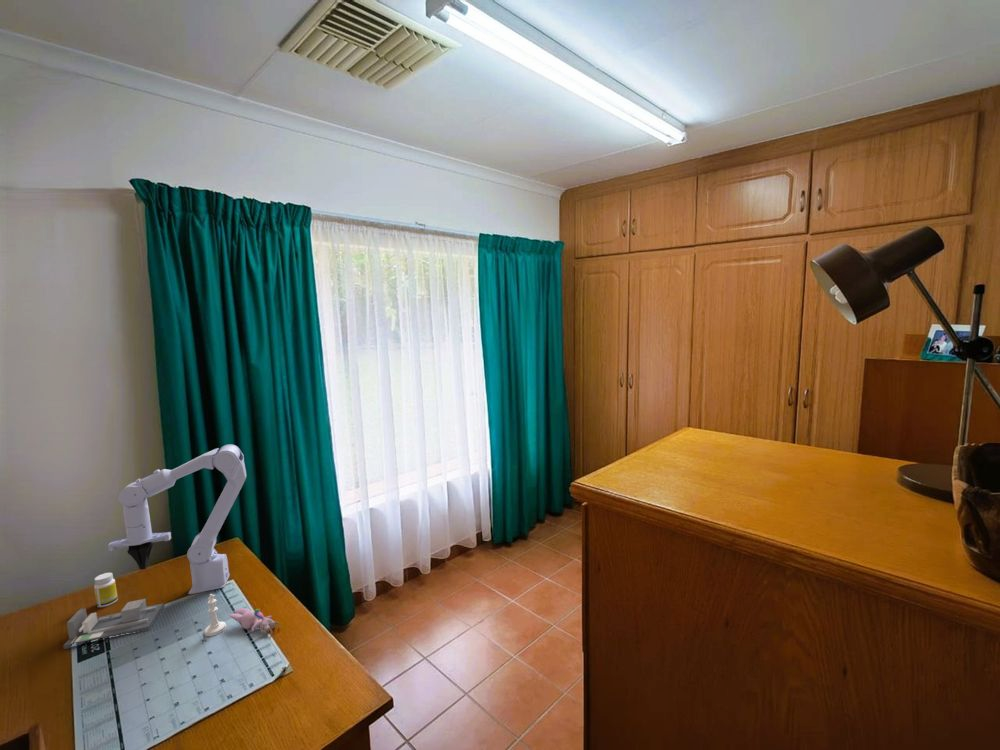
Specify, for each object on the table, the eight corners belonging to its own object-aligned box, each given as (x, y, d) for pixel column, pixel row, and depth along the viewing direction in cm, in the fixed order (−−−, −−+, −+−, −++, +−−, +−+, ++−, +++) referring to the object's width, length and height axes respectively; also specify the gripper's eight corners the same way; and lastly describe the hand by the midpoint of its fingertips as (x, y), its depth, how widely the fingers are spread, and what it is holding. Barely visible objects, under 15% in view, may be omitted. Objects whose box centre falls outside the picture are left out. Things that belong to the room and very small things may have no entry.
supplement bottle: (122, 598, 135) (118, 571, 134) (107, 608, 130) (103, 580, 130) (107, 598, 136) (103, 571, 135) (92, 607, 131) (88, 580, 130)
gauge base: (164, 606, 130) (161, 588, 129) (149, 629, 120) (146, 610, 119) (86, 623, 124) (83, 604, 123) (63, 649, 114) (60, 628, 113)
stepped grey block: (147, 611, 126) (145, 598, 125) (140, 620, 122) (138, 607, 121) (114, 618, 123) (112, 605, 123) (106, 628, 119) (104, 614, 119)
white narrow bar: (97, 621, 122) (96, 612, 122) (83, 638, 115) (82, 628, 115) (92, 623, 122) (90, 613, 121) (78, 639, 115) (76, 629, 115)
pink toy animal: (285, 629, 119) (241, 611, 124) (285, 608, 118) (242, 592, 123) (266, 645, 113) (221, 626, 118) (266, 624, 112) (221, 605, 117)
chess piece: (230, 626, 119) (226, 590, 118) (212, 638, 115) (207, 601, 114) (218, 621, 121) (214, 587, 120) (200, 633, 117) (195, 597, 116)
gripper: (172, 514, 138) (177, 556, 139) (113, 523, 133) (119, 566, 134) (164, 523, 131) (169, 567, 132) (102, 533, 126) (109, 578, 127)
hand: (144, 567), depth 133 cm, fingers closed
